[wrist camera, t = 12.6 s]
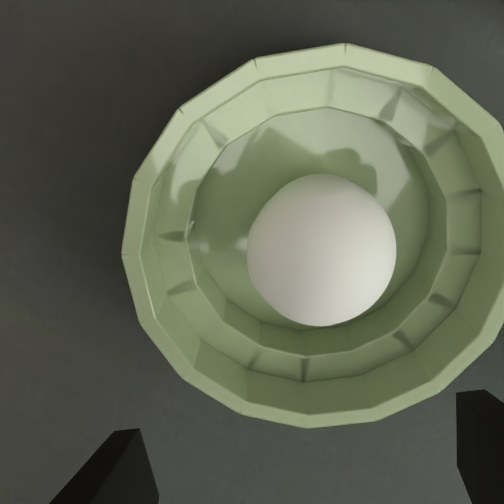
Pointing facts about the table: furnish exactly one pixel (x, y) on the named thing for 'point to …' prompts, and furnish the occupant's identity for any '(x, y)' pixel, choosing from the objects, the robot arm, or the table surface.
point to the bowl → (302, 164)
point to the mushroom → (321, 250)
